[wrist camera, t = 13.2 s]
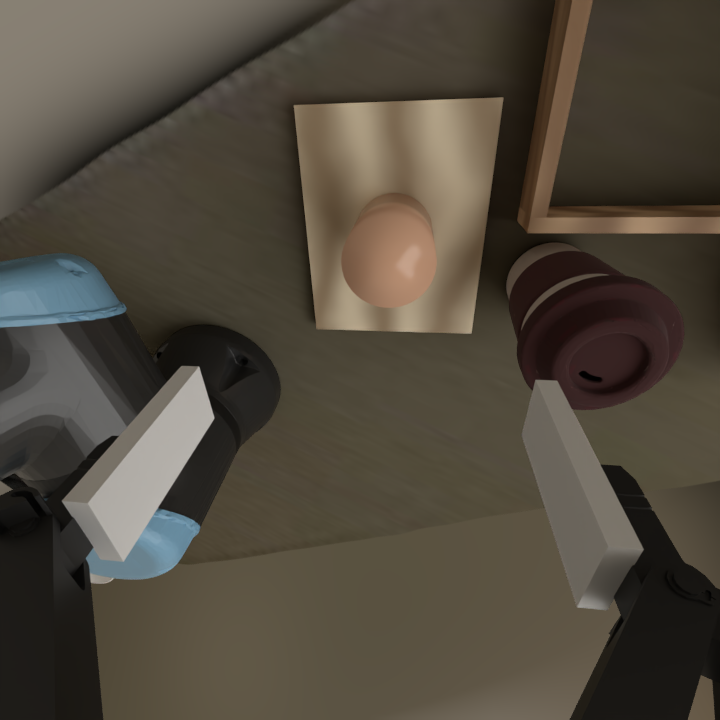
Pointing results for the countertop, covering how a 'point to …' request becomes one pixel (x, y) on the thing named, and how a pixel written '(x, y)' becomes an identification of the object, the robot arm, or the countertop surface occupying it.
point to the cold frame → (548, 142)
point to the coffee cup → (590, 326)
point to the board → (406, 176)
